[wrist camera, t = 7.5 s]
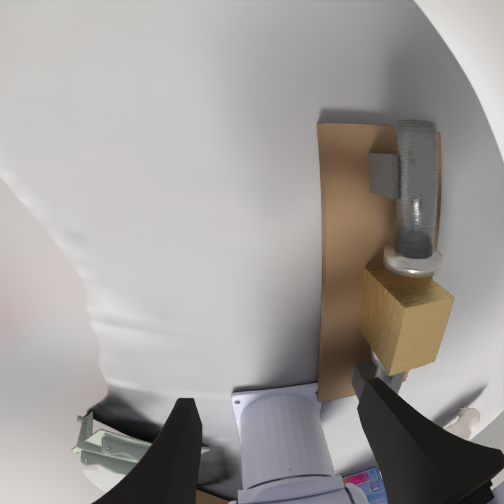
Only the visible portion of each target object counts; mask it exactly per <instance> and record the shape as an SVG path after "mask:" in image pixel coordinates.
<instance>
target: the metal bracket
mask: <svg viewBox="0 0 504 504" xmlns="http://www.w3.org/2000/svg"><path fill="white" fill-rule="evenodd" d="M77 421H79V422H81V423H82V426H81V430H80V434H79V438H78V442H77V446H76V447H74V448H73V449H72V450H71V451H72V452H75V453H78V454H81V462H82V463H83V464H84V465H99V466H101V467H103V468H105V469H107V470H109V471H111V472H113V473H117V474H121V475H127V474H128V473H129V472H130V471H131V470H132V469H133V468H134V466H135V465H136V464H137V463H138V462H139V461H140V459H141V458H142V457H143V456H144V454H145V453H146V452H147V450H148V449H149V447H150V446H151V445H152V443H149V442H145V441H141V440H137V439H134V438H130V437H127V436H123V435H120V434H116V433H113V432H110V431H107V430H104V429H99V430H98V431H97V432H95V433H94V434H92V425H93V424H92V423H93V412H91V413H90V414H89V415H87V414H86V415H85V416H84V417H80V416H78V417H77ZM107 433H108V434H107ZM209 450H210V448H209V447H204V446H202V450H201V454H202V453H205V452H207V451H209ZM85 459H86V460H87V462H86V461H85Z"/></svg>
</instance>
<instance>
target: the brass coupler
mask: <svg viewBox="0 0 504 504" xmlns="http://www.w3.org/2000/svg"><path fill="white" fill-rule="evenodd" d="M453 299H454V296H453V295H451V294H450V293H449V292H448V291H446V290H445V289H444V288H442V287H441V286H440V285H439V284H437V283H436V282H435V281H433V280H432V279H431V278H429V277H422V278H417V277H408V276H403V275H399V274H397V273H394V272H392V271H390V270H388V269H387V268H386V267H385V266H384V265H380V266H372V267H364V278H363V290H362V300H361V309H360V318H359V326H358V327H359V329H360V331H361V332H362V334H363V335H364V337H365V338H366V340H367V342H368V343H369V345H370V346H371V348H372V350H373V351H374V353H375V354H376V356H377V358H378V359H379V361H380V362H381V364H382V366H383V367H384V369H385V371H386V372H387V374H388V376H391V375H394V374H398V373H401V372H404V371H407V370H411V369H414V368H417V367H420V366H423V365H426V364H429V363H431V362H434V361H435V359H436V356H437V353H438V350H439V347H440V344H441V341H442V338H443V335H444V332H445V329H446V325H447V322H448V318H449V315H450V311H451V307H452V303H453Z"/></svg>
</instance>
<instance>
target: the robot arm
mask: <svg viewBox="0 0 504 504" xmlns="http://www.w3.org/2000/svg"><path fill="white" fill-rule="evenodd" d="M317 391H318V383H311V384H305V385H299V386H292V387H284V388H276V389H267V390H257V391H246V392H235V393H232V394H231V401H232V406H233V410H234V415H235V419H236V423H237V428H238V432H239V436H240V440H241V461H242V486H243V490H238V501H230V502H229V503H228V504H369V502H368V500H367V497H366V495H365V494H364V492H363V491H362V489H361V488H359V487H357V486H355V485H354V484H352V483H347V484H344V483H343V480H342V477H341V475H337V476H336V475H335V472H334V468H333V464H332V461H331V457H330V454H329V450H328V447H327V443H326V440H325V436H324V433H323V429H322V426H321V422H320V411H321V404H322V402H319V403H318V401H317V395H318V394H317ZM237 400H238V401H237ZM357 410H358V414H359V417H360V421H361V425H362V428H363V430H364V433H365V435H366V437H367V440H368V442H369V444H370V447H371V449H372V451H373V454H374V456H375V459H376V461H377V463H378V466H379V469H380V472H381V475H382V479H383V483H384V487H385V491H386V496H387V501H388V504H504V481H503V482H502V483H501V484H499V485H498V486H497V487H496V488H494V489H493V490H492V491H491V489H490V487H491V486H492V482H491V479H492V478H493V477H494V476H496V475H497V474H498V473H499V472H500V471H501V470H502V469H503V468H504V454H503V453H502V451H501V450H499V449H494V448H489V447H485V446H482V445H479V444H475V443H472V442H470V441H467V440H465V439H463V438H460V437H458V436H456V435H454V434H452V433H450V432H448V431H446V430H444V429H443V428H441V427H439V426H438V425H436V424H434V423H433V422H431V421H430V420H428V419H427V418H426V417H424V416H423V415H422V414H420V413H419V412H418V411H416V410H415V409H414V408H413V407H412V406H410V405H409V404H408V403H407V402H406V401H404V400H403V399H402V398H401V397H400V396H399V395H398V394H397V393H395V392H394V391H393V390H392V389H391V388H390V387H389V386H388V385H387V384H386V383H385V382H383V381H382V380H381V379H380V378H379V377H376V378H372V379H368V380H366V382H365V385H364V388H363V392H362V395H361V398H360V401H359V404H358V407H357ZM201 450H202V423H201V420H200V417H199V414H198V411H197V407H196V404H195V401H194V398H179V399H177V401H176V403H175V406H174V408H173V409H172V411H171V413H170V415H169V417H168V419H167V421H166V422H165V424H164V426H163V427H162V429H161V431H160V432H159V434H158V436H157V437H156V439H155V440H154V442H153V443H152V445H151V446H150V447H149V449H148V450H147V452H146V453H145V454H144V456H143V457H142V458H141V459H140V461H139V462H138V463H137V464H136V465H135V466H134V468H133V469H132V470H131V471H130V472H129V473H128V474H127V475H126V476H125V477H124V478H123V479H122V480H121V481H120V482H119V483H118V484H117V485H116V486H114V487H113V488H112V489H111V490H110V491H108V492H107V493H106V494H105V495H103V496H102V497H101V498H99V499H98V500H96V501H95V502H93V503H92V504H196V486H197V479H198V472H199V464H200V457H201Z"/></svg>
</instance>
